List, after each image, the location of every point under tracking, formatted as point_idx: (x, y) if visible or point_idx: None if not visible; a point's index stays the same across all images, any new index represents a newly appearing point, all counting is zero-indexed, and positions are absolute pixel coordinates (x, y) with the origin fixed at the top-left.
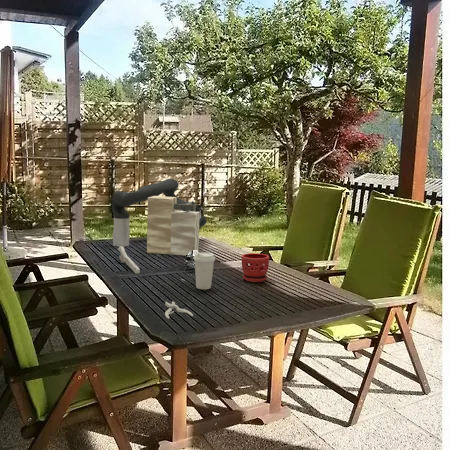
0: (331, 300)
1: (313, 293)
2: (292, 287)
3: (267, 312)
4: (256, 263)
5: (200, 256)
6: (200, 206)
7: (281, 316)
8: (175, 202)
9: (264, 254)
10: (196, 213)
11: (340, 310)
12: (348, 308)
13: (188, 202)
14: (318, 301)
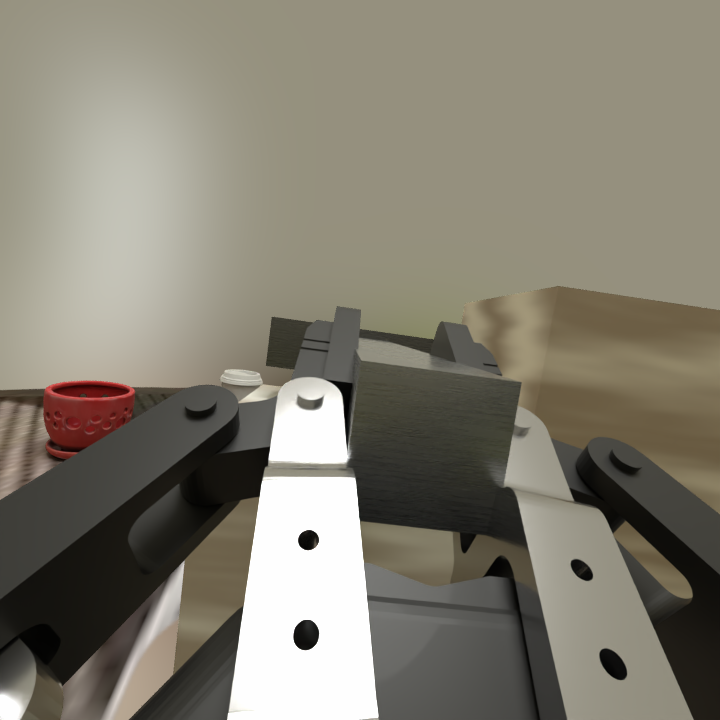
0: (4, 401)
1: (5, 413)
2: (21, 427)
3: (160, 397)
4: (108, 392)
5: (251, 371)
6: (34, 518)
7: (147, 393)
8: (513, 349)
9: (50, 390)
10: (252, 398)
11: (36, 391)
12: (11, 391)
13: (433, 356)
14: (38, 402)
